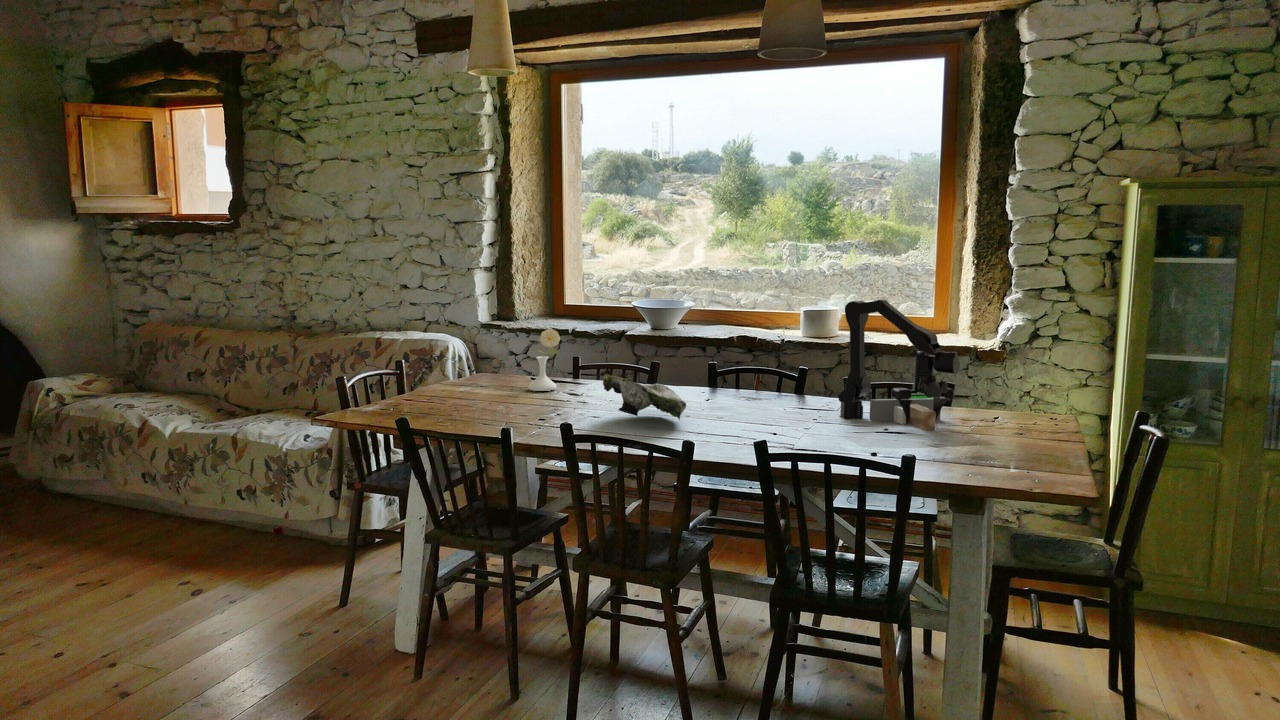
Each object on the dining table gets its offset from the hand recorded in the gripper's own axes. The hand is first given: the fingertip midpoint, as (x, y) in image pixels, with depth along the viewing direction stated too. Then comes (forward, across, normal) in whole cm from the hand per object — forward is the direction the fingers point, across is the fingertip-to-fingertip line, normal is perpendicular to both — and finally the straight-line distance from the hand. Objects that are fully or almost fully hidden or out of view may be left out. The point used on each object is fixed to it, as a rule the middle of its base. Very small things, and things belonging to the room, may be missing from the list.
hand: (921, 419), depth 276 cm
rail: (+2, 0, +2) cm, 3 cm away
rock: (+2, -88, +23) cm, 91 cm away
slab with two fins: (+2, 0, +8) cm, 9 cm away
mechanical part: (+3, +24, +41) cm, 47 cm away
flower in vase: (+3, -115, +88) cm, 145 cm away
